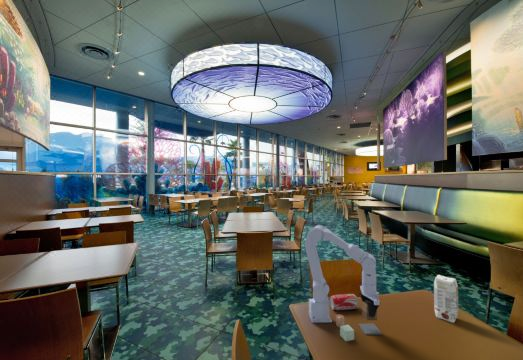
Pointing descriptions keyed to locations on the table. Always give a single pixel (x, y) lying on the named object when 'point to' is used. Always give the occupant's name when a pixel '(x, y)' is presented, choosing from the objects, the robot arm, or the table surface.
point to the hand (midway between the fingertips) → (369, 313)
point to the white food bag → (446, 298)
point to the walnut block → (367, 312)
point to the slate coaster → (370, 329)
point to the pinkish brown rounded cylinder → (339, 320)
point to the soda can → (344, 302)
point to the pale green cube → (346, 332)
